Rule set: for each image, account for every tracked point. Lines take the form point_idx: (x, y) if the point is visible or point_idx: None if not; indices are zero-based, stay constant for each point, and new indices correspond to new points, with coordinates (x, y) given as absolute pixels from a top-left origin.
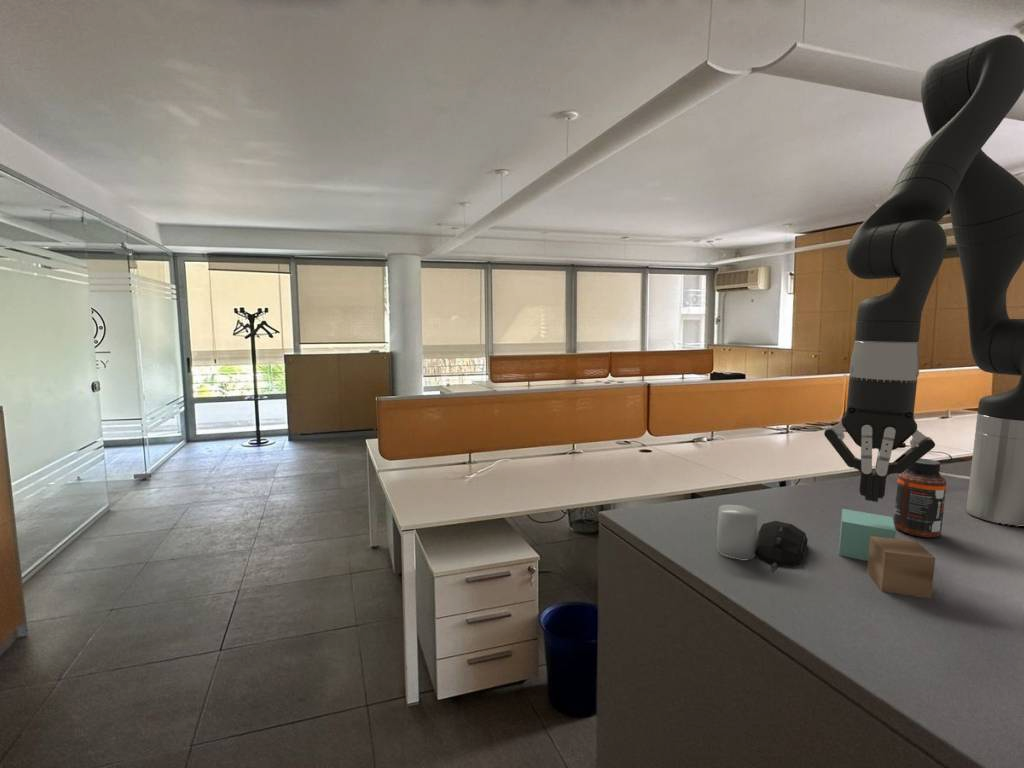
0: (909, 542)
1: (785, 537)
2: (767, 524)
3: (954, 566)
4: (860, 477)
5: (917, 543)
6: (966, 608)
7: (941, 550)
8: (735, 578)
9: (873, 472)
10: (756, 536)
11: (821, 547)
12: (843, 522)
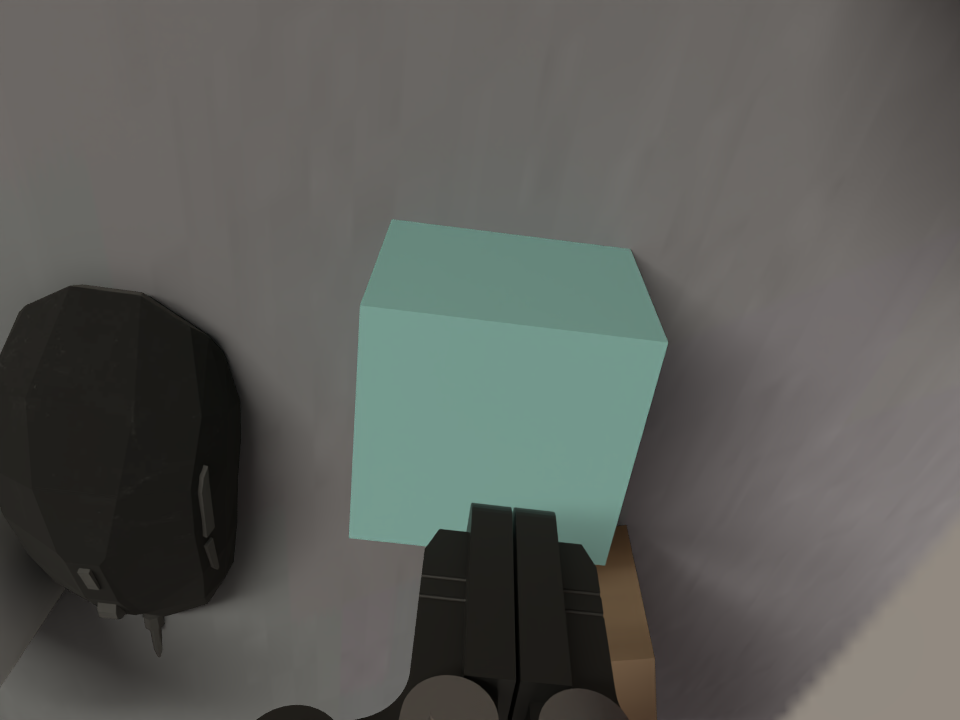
0: (616, 678)
1: (129, 594)
2: (10, 496)
3: (882, 330)
4: (414, 637)
5: (648, 678)
6: (715, 656)
7: (950, 109)
8: (69, 717)
9: (517, 695)
10: (20, 633)
11: (303, 361)
12: (356, 534)
